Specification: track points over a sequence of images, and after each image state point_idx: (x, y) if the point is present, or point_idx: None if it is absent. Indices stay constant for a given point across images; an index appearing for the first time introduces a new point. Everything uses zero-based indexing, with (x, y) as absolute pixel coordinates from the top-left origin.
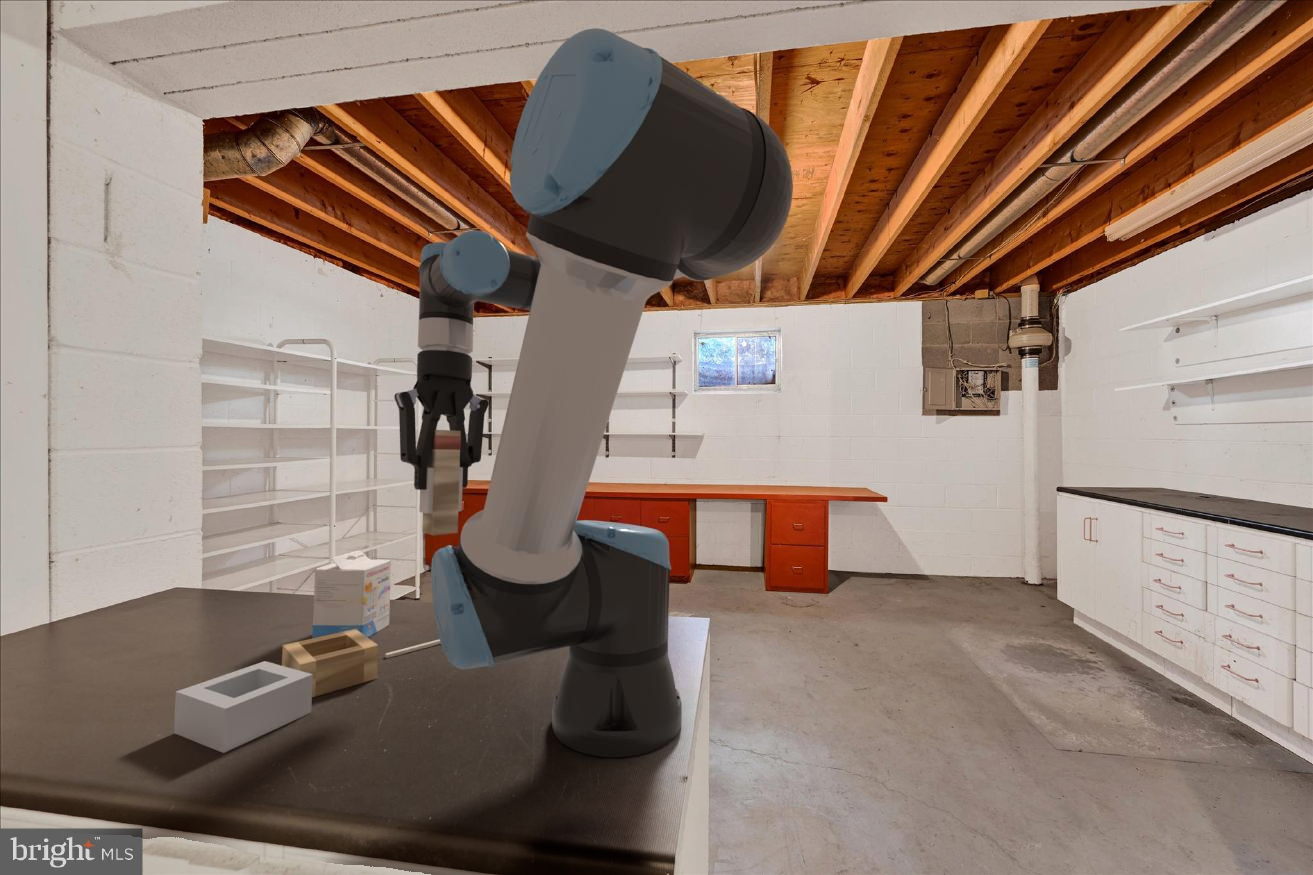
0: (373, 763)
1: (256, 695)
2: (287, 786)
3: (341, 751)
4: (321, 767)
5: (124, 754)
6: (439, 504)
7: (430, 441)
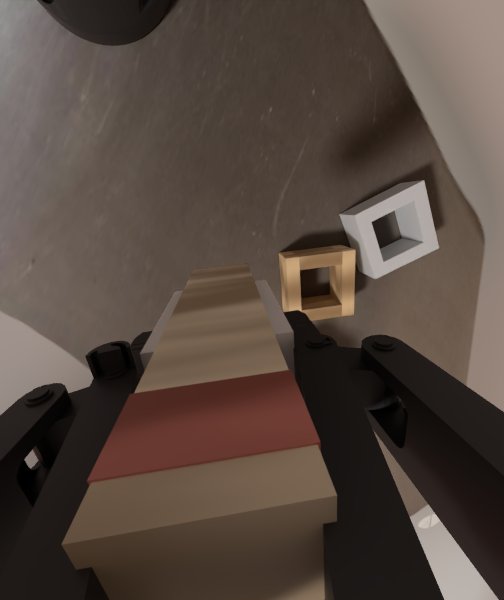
0: (327, 74)
1: (400, 194)
2: (382, 88)
3: (340, 118)
4: (357, 101)
5: (441, 228)
6: (239, 281)
7: (330, 423)
